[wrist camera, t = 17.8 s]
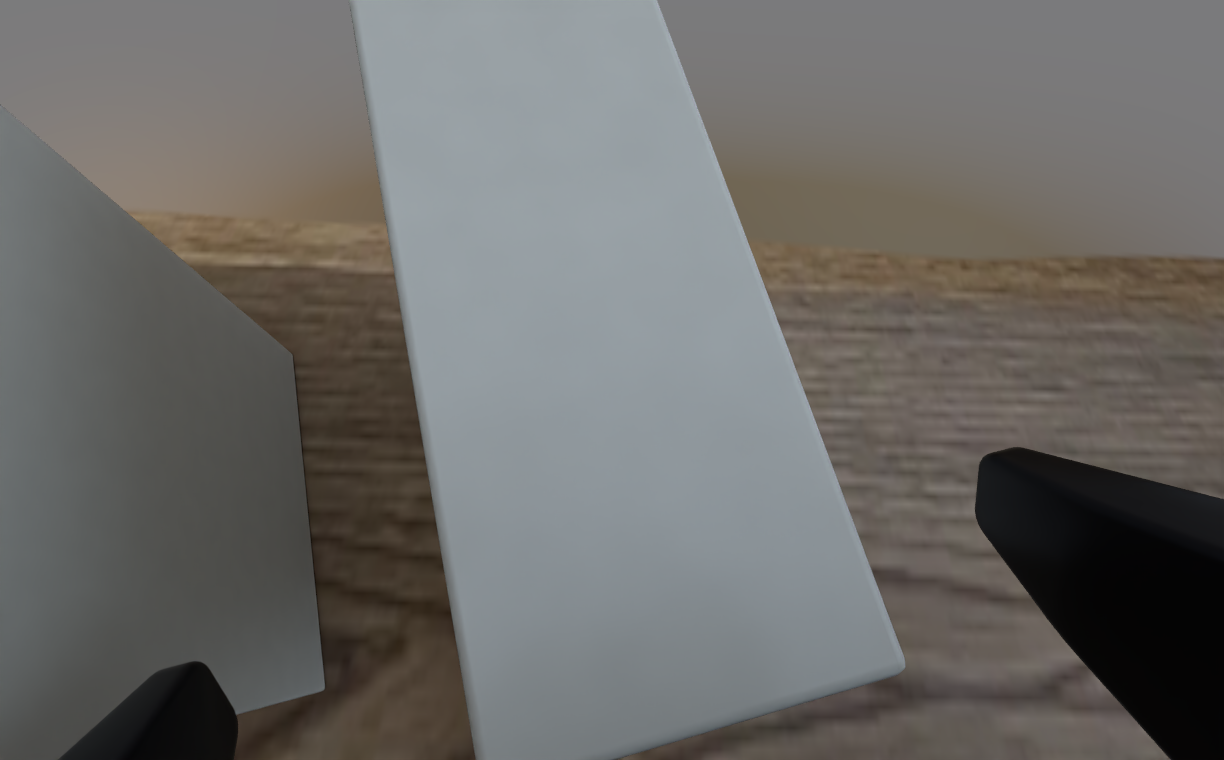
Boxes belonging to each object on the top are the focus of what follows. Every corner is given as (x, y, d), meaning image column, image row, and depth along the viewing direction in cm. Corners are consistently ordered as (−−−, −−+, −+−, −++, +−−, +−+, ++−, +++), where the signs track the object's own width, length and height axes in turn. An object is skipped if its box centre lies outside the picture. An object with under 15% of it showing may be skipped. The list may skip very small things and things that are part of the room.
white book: (677, 629, 16) (915, 670, 4) (568, 660, 16) (481, 802, 4) (591, 313, 19) (581, -210, 7) (497, 334, 19) (318, -172, 7)
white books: (326, 690, 16) (-616, 947, 4) (127, 743, 15) (-1748, 1253, 3) (293, 353, 19) (-284, -144, 6) (124, 390, 18) (-842, -71, 6)
